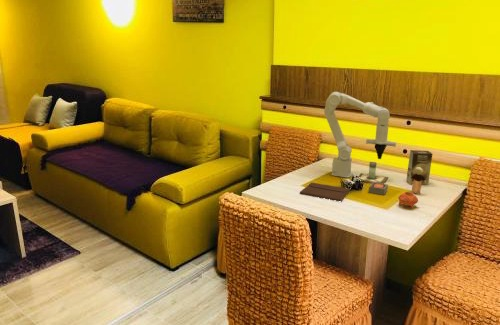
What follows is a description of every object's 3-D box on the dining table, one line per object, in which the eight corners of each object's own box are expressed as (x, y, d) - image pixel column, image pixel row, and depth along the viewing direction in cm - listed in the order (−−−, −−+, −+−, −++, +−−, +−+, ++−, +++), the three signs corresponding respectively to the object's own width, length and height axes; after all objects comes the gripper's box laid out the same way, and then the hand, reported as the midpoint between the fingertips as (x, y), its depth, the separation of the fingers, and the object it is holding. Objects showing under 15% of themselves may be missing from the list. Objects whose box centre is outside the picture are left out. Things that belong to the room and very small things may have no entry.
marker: (367, 178, 208) (368, 163, 206) (369, 176, 211) (370, 161, 208) (374, 179, 206) (375, 164, 204) (375, 177, 209) (377, 162, 207)
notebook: (340, 202, 180) (341, 198, 180) (299, 195, 190) (299, 191, 189) (350, 192, 193) (351, 188, 192) (311, 185, 202) (311, 181, 202)
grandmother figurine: (407, 193, 190) (410, 167, 187) (408, 190, 194) (411, 164, 190) (424, 195, 187) (428, 169, 184) (425, 193, 190) (429, 167, 187)
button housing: (368, 192, 191) (369, 186, 190) (372, 188, 197) (372, 182, 196) (384, 195, 188) (384, 189, 187) (387, 190, 193) (387, 184, 193)
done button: (372, 191, 191) (372, 186, 191) (374, 188, 195) (375, 183, 194) (381, 192, 189) (382, 187, 188) (384, 189, 193) (384, 184, 192)
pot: (399, 200, 181) (405, 187, 178) (416, 208, 177) (422, 195, 174) (393, 205, 175) (398, 191, 172) (410, 213, 171) (416, 199, 168)
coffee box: (409, 184, 202) (413, 153, 198) (406, 180, 208) (409, 149, 204) (428, 185, 201) (432, 153, 197) (424, 181, 207) (428, 150, 203)
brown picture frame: (354, 181, 207) (354, 179, 207) (361, 174, 217) (361, 172, 217) (382, 185, 201) (383, 183, 200) (388, 178, 211) (388, 176, 210)
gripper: (365, 132, 206) (363, 158, 209) (395, 135, 199) (392, 162, 202) (368, 130, 211) (366, 155, 215) (398, 133, 204) (395, 159, 208)
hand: (379, 158), depth 209 cm, fingers closed
